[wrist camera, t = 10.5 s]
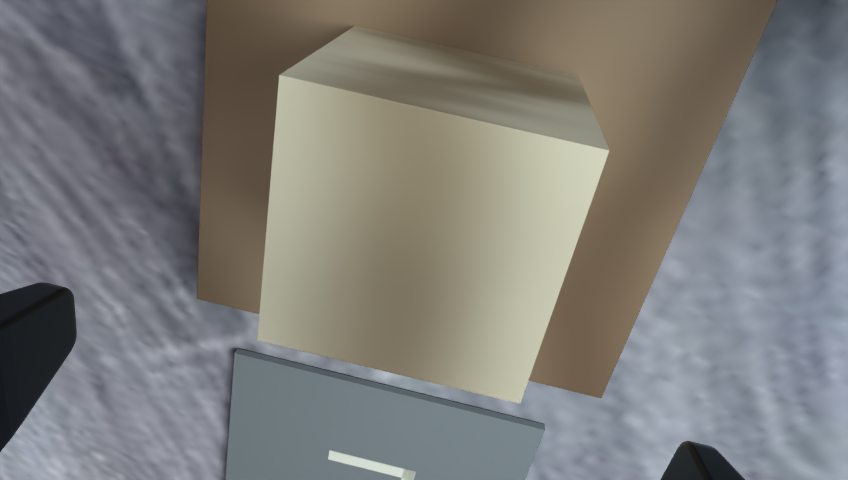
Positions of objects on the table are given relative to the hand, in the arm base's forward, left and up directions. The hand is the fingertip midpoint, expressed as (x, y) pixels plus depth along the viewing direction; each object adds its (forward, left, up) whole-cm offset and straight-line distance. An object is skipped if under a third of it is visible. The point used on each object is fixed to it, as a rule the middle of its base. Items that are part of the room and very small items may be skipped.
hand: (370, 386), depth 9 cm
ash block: (0, 0, -10) cm, 10 cm away
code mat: (0, +16, -11) cm, 20 cm away
